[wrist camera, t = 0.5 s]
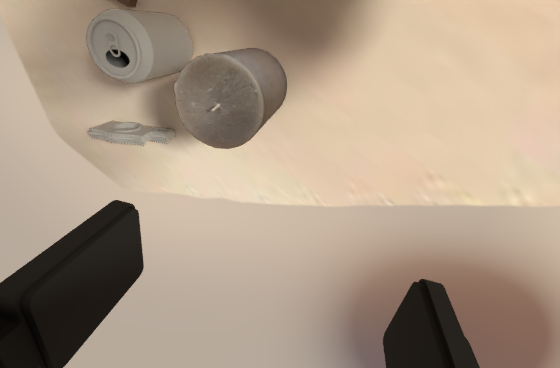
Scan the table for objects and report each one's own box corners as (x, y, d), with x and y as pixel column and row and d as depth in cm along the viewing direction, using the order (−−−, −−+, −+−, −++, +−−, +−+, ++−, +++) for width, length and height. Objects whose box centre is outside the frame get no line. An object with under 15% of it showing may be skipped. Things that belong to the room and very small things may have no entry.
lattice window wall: (176, 128, 47) (155, 140, 42) (177, 138, 48) (157, 151, 43) (110, 118, 49) (83, 129, 44) (113, 128, 49) (86, 140, 44)
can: (150, 68, 43) (88, 81, 33) (143, 10, 39) (70, 3, 29) (197, 75, 42) (148, 90, 32) (194, 16, 38) (138, 11, 28)
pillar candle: (278, 125, 43) (251, 165, 30) (217, 107, 44) (164, 139, 31) (295, 57, 38) (270, 69, 25) (226, 38, 39) (167, 40, 26)
